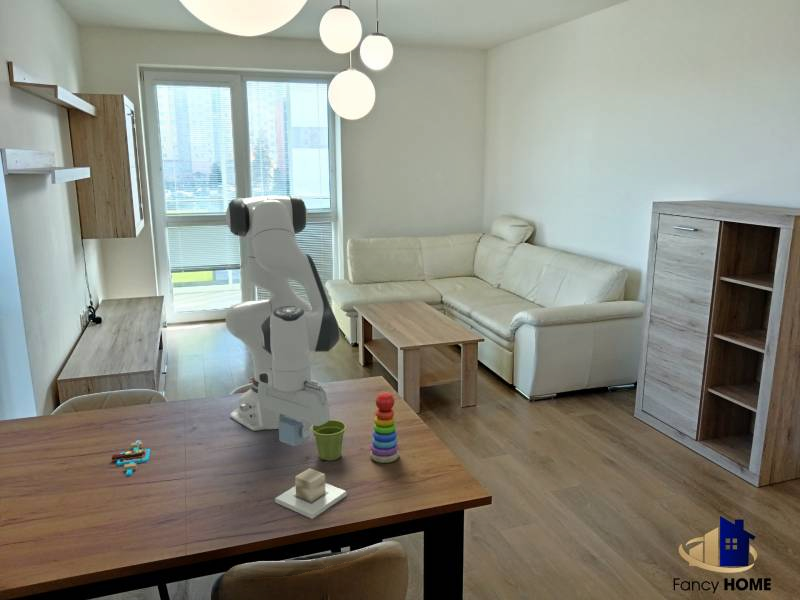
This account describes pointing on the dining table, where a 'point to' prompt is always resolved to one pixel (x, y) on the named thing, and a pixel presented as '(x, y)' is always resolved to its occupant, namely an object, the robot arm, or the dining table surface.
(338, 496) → the plate
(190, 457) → the dining table surface
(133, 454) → the gear mechanism
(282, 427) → the slate blue block
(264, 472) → the dining table surface
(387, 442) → the stacking toy
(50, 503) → the dining table surface
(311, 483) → the maple block
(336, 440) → the plant pot
